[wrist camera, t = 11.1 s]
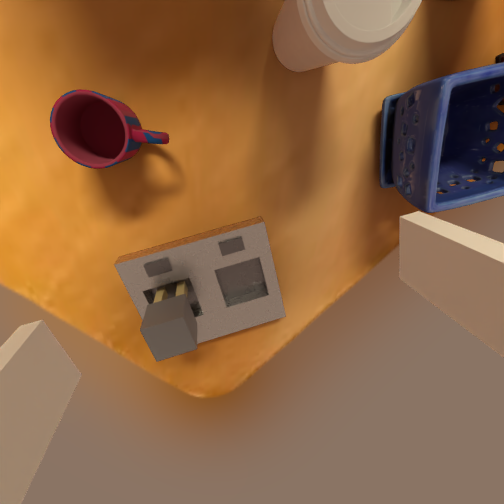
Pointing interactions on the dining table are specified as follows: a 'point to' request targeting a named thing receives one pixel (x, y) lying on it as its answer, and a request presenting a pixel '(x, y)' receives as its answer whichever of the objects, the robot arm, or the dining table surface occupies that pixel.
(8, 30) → the dining table surface
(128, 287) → the socket
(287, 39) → the coffee cup
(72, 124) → the cup
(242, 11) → the dining table surface
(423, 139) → the flower pot
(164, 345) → the plug
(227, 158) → the dining table surface
